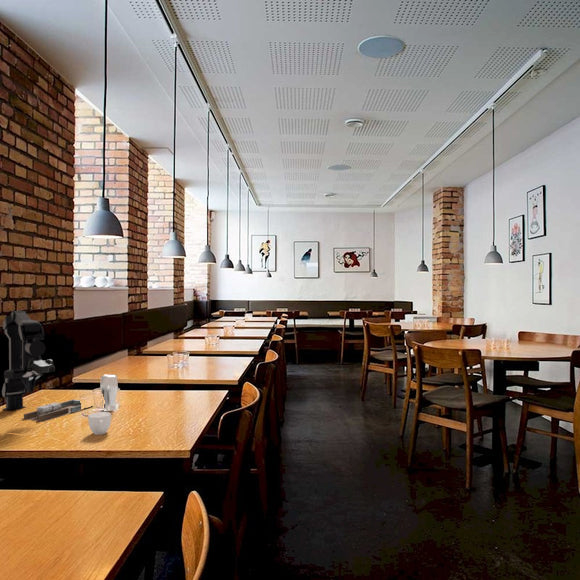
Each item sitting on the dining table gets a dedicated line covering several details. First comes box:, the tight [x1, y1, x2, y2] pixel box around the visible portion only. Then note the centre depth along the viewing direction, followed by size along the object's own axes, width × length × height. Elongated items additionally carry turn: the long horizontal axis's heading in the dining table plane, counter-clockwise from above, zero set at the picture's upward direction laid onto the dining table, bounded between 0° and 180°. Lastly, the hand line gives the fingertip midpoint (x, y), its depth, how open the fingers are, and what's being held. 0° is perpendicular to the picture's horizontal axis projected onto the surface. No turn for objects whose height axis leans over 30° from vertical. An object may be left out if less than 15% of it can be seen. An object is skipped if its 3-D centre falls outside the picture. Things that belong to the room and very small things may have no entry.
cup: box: [87, 411, 112, 436], centre depth 172 cm, size 8×10×7 cm
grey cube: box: [36, 404, 52, 417], centre depth 194 cm, size 4×4×4 cm
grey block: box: [47, 402, 62, 412], centre depth 198 cm, size 4×4×4 cm
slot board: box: [21, 399, 82, 423], centre depth 200 cm, size 12×26×2 cm, turn 158°
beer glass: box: [99, 373, 119, 412], centre depth 205 cm, size 7×7×15 cm
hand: (30, 392), depth 188 cm, fingers closed
